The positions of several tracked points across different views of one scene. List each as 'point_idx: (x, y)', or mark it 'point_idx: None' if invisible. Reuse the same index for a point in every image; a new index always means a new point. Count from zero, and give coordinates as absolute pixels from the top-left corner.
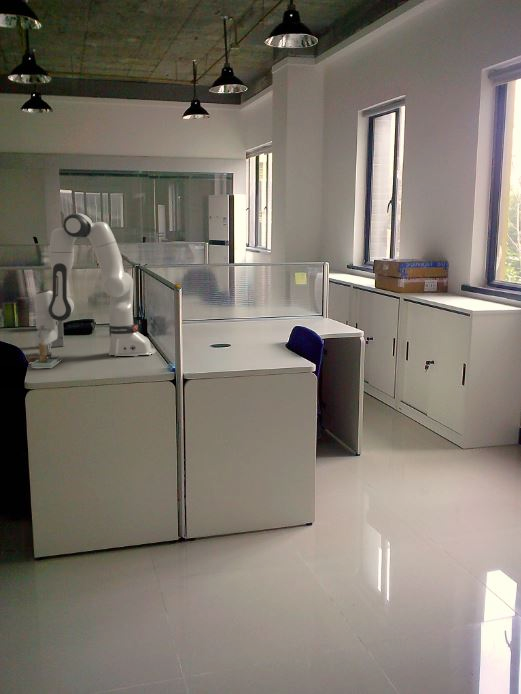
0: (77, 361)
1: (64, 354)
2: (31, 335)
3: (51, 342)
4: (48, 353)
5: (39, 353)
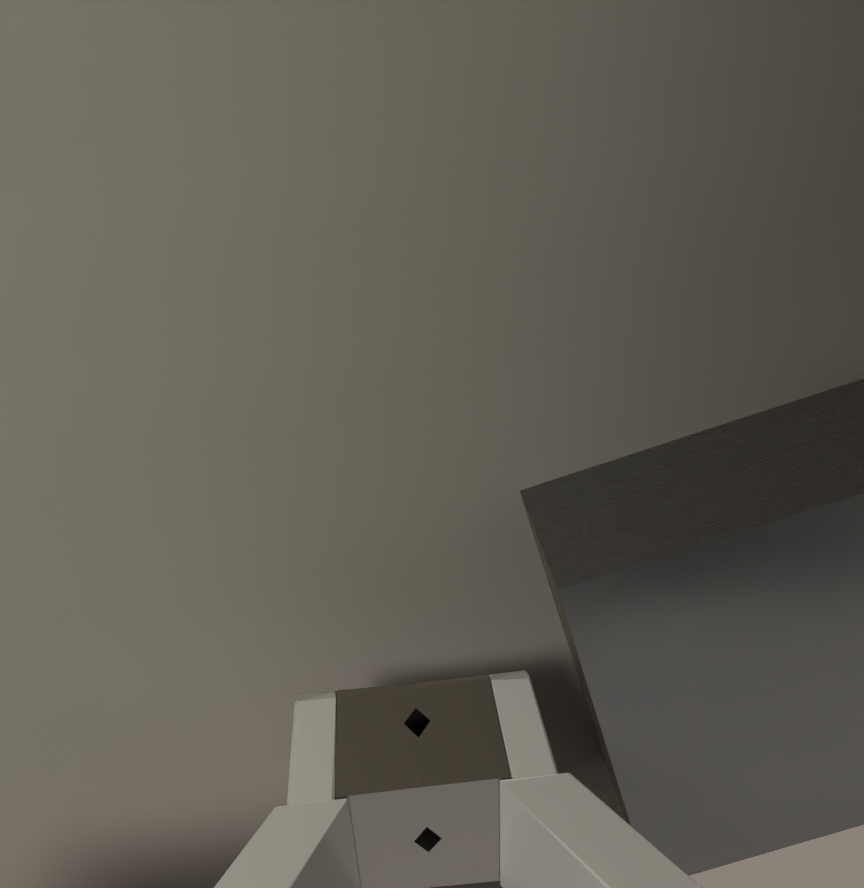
0: None
1: (123, 146)
2: None
3: None
4: (826, 590)
5: (750, 833)
